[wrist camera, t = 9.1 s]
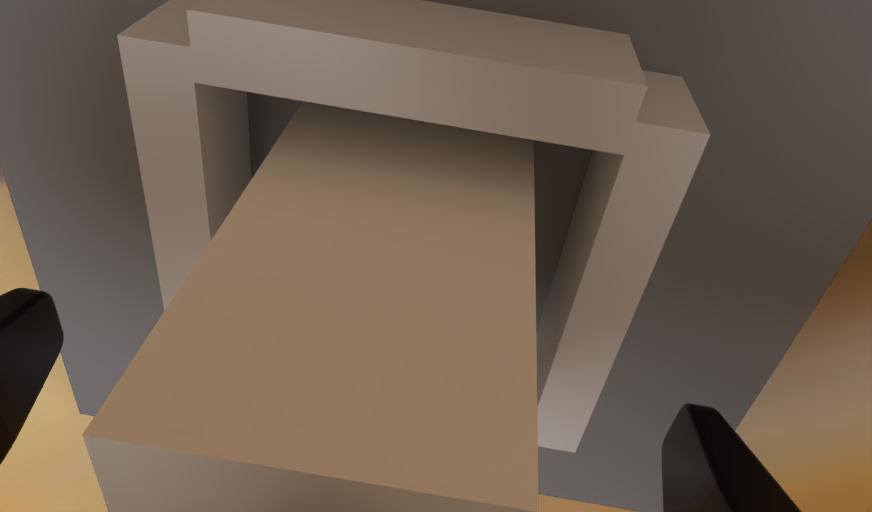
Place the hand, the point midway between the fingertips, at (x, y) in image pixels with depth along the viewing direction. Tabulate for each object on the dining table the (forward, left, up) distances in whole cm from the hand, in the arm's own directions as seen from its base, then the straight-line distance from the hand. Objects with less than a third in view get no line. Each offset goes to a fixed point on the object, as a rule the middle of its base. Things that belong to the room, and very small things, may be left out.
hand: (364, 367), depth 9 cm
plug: (0, 0, -4) cm, 4 cm away
